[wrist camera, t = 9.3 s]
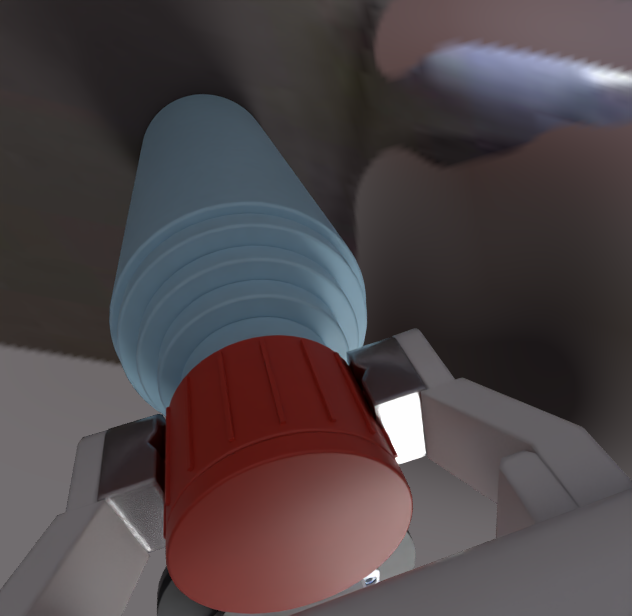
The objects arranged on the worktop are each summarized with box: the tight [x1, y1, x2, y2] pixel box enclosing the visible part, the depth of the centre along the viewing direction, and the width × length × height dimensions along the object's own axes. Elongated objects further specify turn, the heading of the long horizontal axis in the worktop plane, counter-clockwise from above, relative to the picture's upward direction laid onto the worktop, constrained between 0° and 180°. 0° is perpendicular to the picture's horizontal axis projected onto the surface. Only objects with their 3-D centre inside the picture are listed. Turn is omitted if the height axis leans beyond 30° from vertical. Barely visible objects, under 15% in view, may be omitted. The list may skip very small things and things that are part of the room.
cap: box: [163, 335, 413, 614], centre depth 9 cm, size 4×4×3 cm
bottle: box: [109, 94, 367, 416], centre depth 17 cm, size 7×7×22 cm
